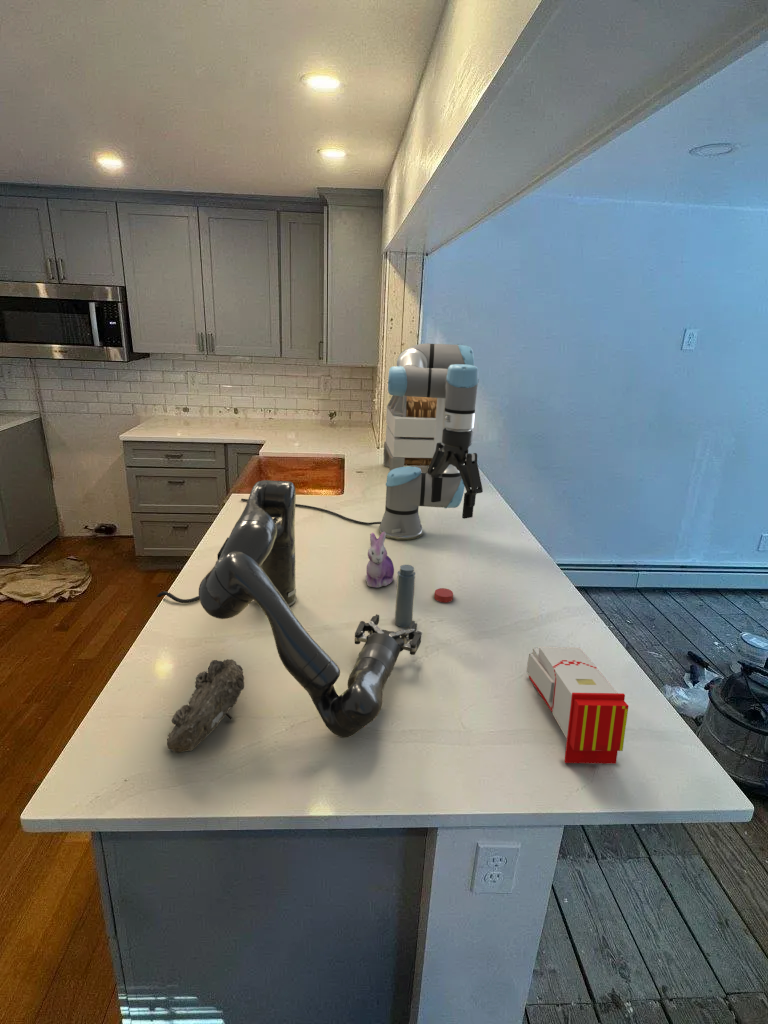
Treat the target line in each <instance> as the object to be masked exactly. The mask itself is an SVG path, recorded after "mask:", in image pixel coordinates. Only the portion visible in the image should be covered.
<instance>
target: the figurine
mask: <svg viewBox="0 0 768 1024" xmlns="http://www.w3.org/2000/svg"><path fill="white" fill-rule="evenodd" d="M385 536H386V533H385V532H382V533H381V534H379V536H378V537H376V534H375V533H374V532H370V534H369V540H370V547H369V548H368V551H367V558H368V563H367V564H366V576H365V582H366V585H367V586H368V587H371V588H376V589H379V588H381V587H387V586H389V584H391V583H392V582H393V581H394V580H393V579H394V574H395V567H394V563H393V560H392V559H391V558H390V556H389V555H388V552H387V549H386V546H385V541H386V537H385Z"/></svg>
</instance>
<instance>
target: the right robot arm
mask: <svg viewBox="0 0 768 1024" xmlns="http://www.w3.org/2000/svg"><path fill="white" fill-rule="evenodd" d="M387 380H388V382H387V393H388V394H389V395H391V396H393V395H395V396H400V397H403V396H410V397H430V398H437V407H436V421H435V435H434V449H433V458H432V460H431V463H430V465H428V466H427V470H426V472H422V469H421V468H420V467H419V466H418V467H417V466H407V465H406V466H404V467H399V468H395V469H393V470H391V471H390V470H389V471H388V473H387V475H386V482H385V487H386V488H385V489H386V490H385V504H384V505H385V507H384V508H385V509H384V513H383V515H382V519H381V521H371V522H367V521H360V520H357V519H354V518H353V519H352V518H349V517H347V516H344V515H342V514H339V513H337V512H335V511H332V510H328V509H325V508H321V507H316V506H313V505H308V504H307V505H306V504H299V503H295V507H300V508H307V509H313V510H317V511H320V512H325V513H327V514H331V515H334V516H337V517H339V518H341V519H343V520H346V521H349V522H352V523H355V524H360V525H367V526H373V525H379V526H378V533H379V535H381V533H382V532H385V533H386V536H385V538H387V539H389V540H395V541H410V540H415V539H418V538H420V537H421V536H422V535H423V525H422V524H421V518H420V515H419V507H425V508H426V507H427V508H443V509H450V508H452V509H456V508H458V507H459V506H460V505H461V502H462V500H463V502H462V503H463V504H462V506H463V507H462V516H461V517H462V519H464V520H465V519H471V518H473V515H474V507H475V505H476V496H477V494H483V491H484V490H483V484H482V479H481V474H480V470H479V464H478V454H477V452H473V453H471V452H469V447H470V446H472V444H473V437H474V432H473V429H474V428H475V417H476V405H477V404H476V402H477V393H478V384H479V382H480V379H479V367H478V366H476V365H475V355H474V350H473V348H472V347H471V346H469V345H465V344H464V345H463V344H449V343H448V344H447V343H429V342H426V343H425V342H424V343H419V344H415V345H412V346H408V347H406V348H405V349H404V350H403V351H401V352H400V354H399V355H398V356H397V359H396V366H393V365H392V366H391V367H389V368H388V378H387ZM464 491H466V492H464ZM248 499H249V498H248ZM248 499H247V498H241V499H240V501H242V502H248Z"/></svg>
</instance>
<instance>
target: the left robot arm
mask: <svg viewBox="0 0 768 1024" xmlns="http://www.w3.org/2000/svg"><path fill="white" fill-rule="evenodd" d="M296 492H297V491H296V486H295V484H294V483H293V482H292V481H289V480H267V479H264V480H258V481H257V482H255V483H254V485H253V486H252V488H251V490H250V493H249V496H248V501H246V504H245V507H244V510H243V511H242V513H241V514H240V517H239V518H238V519H237V521H236V523H235V524H234V526H233V528H232V529H231V532H230V534H229V536H228V537H227V538H228V540H227V542H226V544H225V546H224V549H223V551H222V553H221V556H220V558H219V560H218V559H217V560H218V561H217V560H216V561H217V563H216V562H215V564H216V565H215V564H214V566H213V567H212V568H211V569H210V571H208V573H207V574H206V575H205V576H204V577H203V579H202V580H201V581H200V583H199V585H198V586H199V587H198V595H197V596H195V597H192V598H186V599H185V598H184V599H183V598H179V597H177V596H176V595H174V594H172V593H171V592H169V591H165V590H164V591H160V592H159V593H158V594H157V595H156V598H161V597H163V596H166V595H167V597H168V598H170V599H171V600H173V601H175V602H176V603H178V604H179V603H180V604H191V603H194V602H197V601H199V602H200V605H201V608H203V610H204V611H205V612H206V613H207V614H208V615H209V616H211V617H213V618H214V619H220V620H226V619H232V618H234V617H236V616H237V615H240V613H242V612H243V611H244V610H245V609H246V608H247V607H248V606H249V605H250V604H251V603H252V602H253V601H254V602H255V603H256V604H257V605H258V607H259V608H260V609H261V610H262V611H263V613H264V614H265V615H264V616H266V618H267V620H268V623H269V625H270V630H271V632H272V636H273V640H274V643H275V647H276V651H277V654H278V658H279V659H280V661H281V663H282V665H283V666H284V669H286V671H287V672H288V673H289V674H290V676H292V677H293V678H294V679H295V680H296V682H297V683H298V684H299V685H300V686H301V687H302V688H303V689H304V691H306V693H307V694H308V695H309V697H310V699H311V701H312V703H313V705H314V706H315V708H316V711H317V712H318V714H319V717H320V718H321V720H322V721H323V724H324V725H325V727H326V728H327V729H328V730H329V731H330V732H331V733H332V734H333V735H335V736H337V737H339V738H341V739H347V738H351V737H353V736H354V735H355V734H357V733H358V732H359V731H361V730H362V729H363V728H365V727H367V726H368V725H369V724H371V723H372V722H373V721H374V720H375V719H376V718H377V717H378V716H379V714H380V712H381V710H382V709H383V693H384V692H383V691H384V688H385V685H386V683H387V682H388V679H389V678H390V676H391V675H392V672H393V670H394V668H395V665H396V663H397V660H398V658H399V656H400V654H401V652H403V651H408V652H409V655H411V656H414V655H416V653H417V651H418V649H419V647H420V645H421V643H422V634H423V632H422V631H420V630H417V629H418V624H417V623H416V621H415V620H412V621H411V624H410V626H409V627H408V628H407V629H405V630H404V629H401V630H398V631H393V630H387V629H381V628H380V627H379V623H380V614H378V613H376V614H375V615H373V616H372V617H371V619H370V620H369V621H368V622H365V621H364V620H360V621H359V624H358V625H357V628H356V630H355V632H354V645H360V644H361V643H364V644H363V647H362V648H361V650H360V651H359V653H358V655H357V658H356V662H355V664H354V666H353V668H352V669H351V672H350V673H349V676H348V679H347V683H346V684H347V689H346V690H344V692H342V693H341V694H340V695H338V692H337V691H336V688H335V684H336V682H337V681H338V680H339V677H340V675H341V669H340V667H339V666H338V664H337V663H336V662H335V661H334V660H333V659H332V658H331V656H330V655H328V654H327V653H326V651H325V650H324V649H323V648H322V647H321V646H320V645H319V644H318V643H317V641H315V639H314V638H313V637H312V636H311V635H310V633H308V631H307V630H306V629H305V628H304V626H303V625H302V623H301V622H300V620H299V619H298V618H297V616H296V615H295V613H294V612H293V610H292V609H291V606H293V605H294V604H295V603H296V602H297V588H296V586H297V585H296V524H295V523H296V506H295V504H297V503H296V501H297V499H296V498H297V493H296ZM274 518H277V519H280V521H277V522H276V521H275V522H274V520H273V519H274ZM168 592H169V593H168ZM366 632H367V633H368V634H367V635H366V634H365V633H366Z"/></svg>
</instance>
